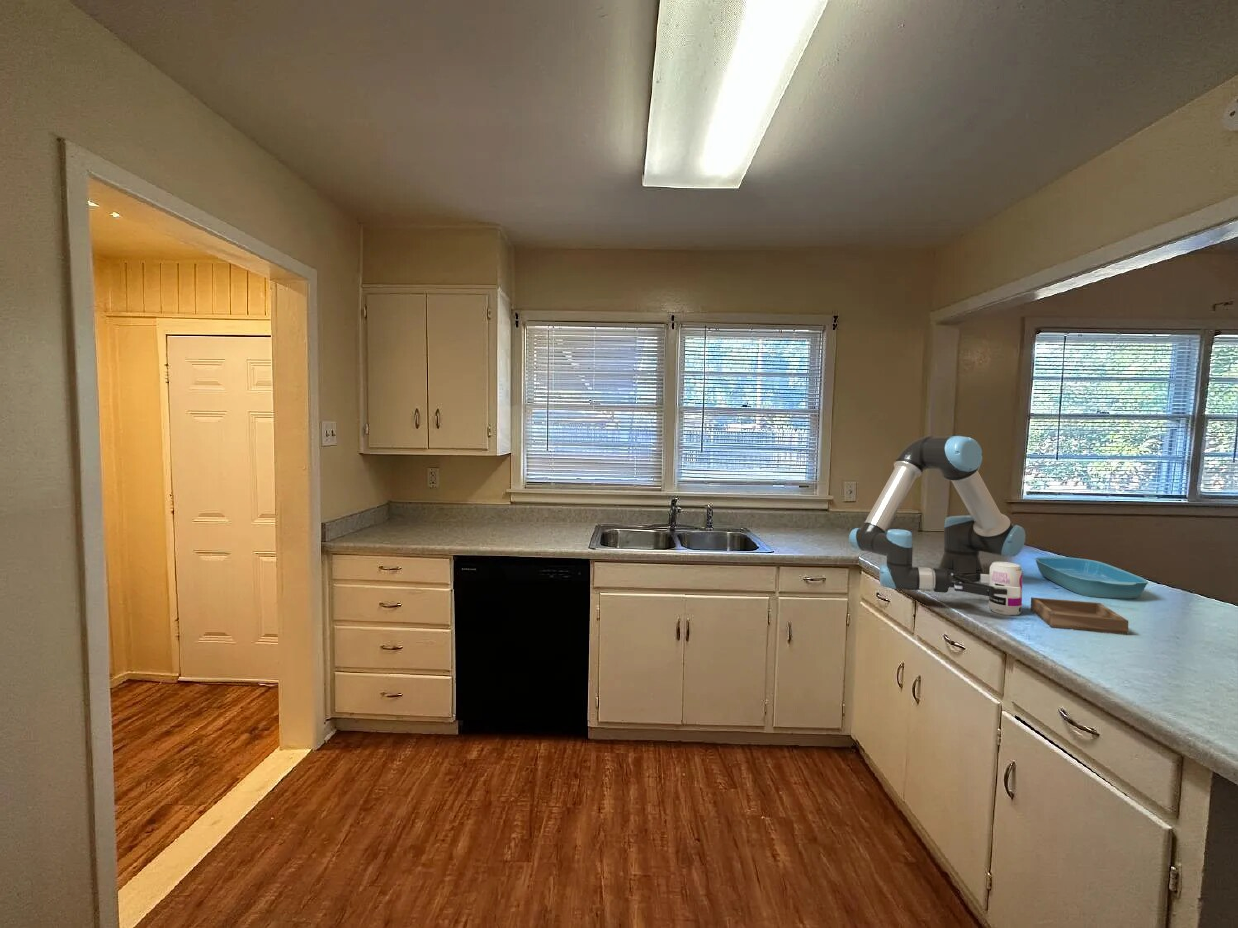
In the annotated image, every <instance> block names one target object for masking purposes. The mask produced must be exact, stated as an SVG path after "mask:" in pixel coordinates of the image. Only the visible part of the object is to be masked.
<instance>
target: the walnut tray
mask: <svg viewBox="0 0 1238 928" xmlns="http://www.w3.org/2000/svg"><path fill="white" fill-rule="evenodd" d="M1030 611H1031V612H1033V613H1034V614H1035V615H1036V616H1037V617H1038V618H1039V619H1041V621H1043V622H1044V623H1045V624H1046V625H1047V626H1049V627H1050V628H1051V629H1062V630H1070V629H1073V631H1082V632H1091V633H1092V632H1093V633H1101V634H1102V633H1103V634H1114V635H1124V636H1128V635H1129V620H1128V619H1126V618H1125V617H1123V616H1122V615H1120V614H1119V613H1117V612H1115V611H1114V610H1112V609H1110V608H1109V607H1107V606H1106V605H1104V604H1102V603H1101V602H1093V601H1092V602H1091V601H1082V600H1081V601H1080V600H1079V601H1078V600H1069V599H1068V600H1067V599H1054V598H1041V597H1030Z"/></svg>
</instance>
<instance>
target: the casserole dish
mask: <svg viewBox="0 0 1238 928" xmlns="http://www.w3.org/2000/svg"><path fill="white" fill-rule="evenodd" d="M1034 559H1035V562H1036V565H1037V568H1038V571H1039V572H1040V574H1041V575H1042V576H1043V577H1044V578H1045V579H1047V580H1049V581H1051V582H1052V583H1054V584H1056V585H1059V586H1060V587H1062V588H1064V589H1065V590H1068V591H1071V592H1072V591H1073V592H1072V593H1075V594H1078V595H1079V596H1083V597H1089V598H1090V597H1091V598H1100V599H1101V598H1102V599H1120V600H1122V599H1124V600H1125V599H1126V600H1128V599H1129V600H1132V599H1133V600H1134V599H1136V598H1139V597H1140V596H1141V595H1142V593H1143V591H1144V590H1145V588H1146V587H1147V585H1148V584H1149V581H1148V580H1147V579H1146V578H1144V577H1142V576H1139V575H1136V574H1133V573H1131V572H1129V571H1126V570H1123V569H1121V568H1118V567H1116V566H1113V565H1110V564H1108V563H1105V562H1101V561H1098V560H1093V559H1087V558H1079V557H1077V558H1076V557H1070V556H1057V555H1056V556H1055V555H1052V556H1049V555H1048V556H1039V557H1038V556H1037V557H1035V558H1034Z"/></svg>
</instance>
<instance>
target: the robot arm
mask: <svg viewBox="0 0 1238 928" xmlns="http://www.w3.org/2000/svg"><path fill="white" fill-rule="evenodd" d="M982 454H983V451H982V447H981V445H980V444H979V442H978V441H976V440H975V439H974V438H972V437H968V436H961V435H955V436H954V435H953V436H923V437H920V438H917V439H916V440H914V441H912V442H911V443H909V444H908V445H907V446H906V447H905V448H904V449H903V450H902V451H901V452H900V453H899V455H898V456H897V458H896V459H895V461H894V462H893V467H894V469H893V471H892V473H891V475H890V477H889V478H888V479H887V481H886V484H885V485H884V487H883V489H882V490H881V492H880V494H879V496H878V498H877V499H876V501H875V503H874V505H873V506H872V508H871V510H870V512H869V513H868V515H867V518H866V520H865V521H864V522H863V524H862V526H861V527H855V528H854V529H852V530H851V531H850V533H849V536H848V541H849V542H848V543H849V544H850V546H851V547H852V548H854V549H855V550H856V549H857V550H860V551H862V552H868V553H872V554H877V555H880V556H885V557H886V563H884V564H881V565H880V566H879V574H878V575H879V576H878V577H879V584H880V586H882V587H883V588H888V589H894V590H907V591H910V590H911V591H920V592H921V593H924V592H935V593H945V594H946V593H948V591H949V588H952V589H953V588H954V591H956V592H963V593H968V594H974V595H979V596H980V595H981V596H983V597H988V598H989V597H990V598H994V595H1001V596H1013V597H1020V588H1019V587H1008V586H994V585H993V586H989V573H988V574H986V573H985V569H984V567H983V564H982V560H981V557H980V552H982V553H988V554H993V555H997V556H1000V557H1009V558H1012V557H1016V556H1018V555H1019V554H1020V553H1021V552H1022V549H1023V548H1024V546H1025V542H1026V532H1025V531H1026V530H1025V529H1024V527H1023V526H1020V525H1018V524H1016V525H1015V524H1013V523H1012V522H1011V520H1010V518H1009V517H1008V516H1007V515H1006V514H1004V513H1001V511H1000V509H999V507H998V506H997V504H996V502H995V500H994V498H993V496H992V494H991V493H990V491H989V489H988V487H987V485H986V483H985V482H984V480H983V478H982V476H981V475H980V473H979V470H980V467H981V464H982V461H983V458H984V457H983V455H982ZM928 469H929V470H939V471H940V473H941V475H942V477H943V478H944V479H945V480H947V481H951V483H952V484H953V486H954V488H955V490H956V492H957V493H958V496H959V497H960V499H961V501H962V502H963V504H964V505H965V507H966V509H967V512H969V514H970V515H951V516H948V517H947V516H946V518H945V520H944V526H943V530H944V531H943V533H944V534H943V535H944V537H943V538H944V539H943V540H944V541H943V542H944V543H943V544H944V546H943V553H942V556H941V559H940V561H939V563H938V564H939V565H938V568H937V567H935V568H933V569H932V567H918V566H913V552H914V551H913V549H914V544H913V543H914V542H913V534H912V532H911V531H910V530H906V529H900V528H896V529H895V528H894V529H892V528H891V529H889V528H890V526H891V524H892V522H893V520H894V519H895V516H896V514H897V513H898V511H899V509H900V507H901V506H902V504H903V502H904V500H905V498H906V496H907V494H908V492H910V490H911V488H912V486H913V483H915V480H916V479H917V478H920V477H921V475H922V474H923V472H925V471H926V470H928ZM978 582H979V583H978ZM987 584H988V585H987Z"/></svg>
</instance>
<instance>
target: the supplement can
mask: <svg viewBox="0 0 1238 928" xmlns="http://www.w3.org/2000/svg"><path fill="white" fill-rule="evenodd" d="M1023 572H1024V571H1023V570H1022V567H1021V565H1020V564H1018V563H1014V562H1008V561H993V562H992V563H991V565H990V566H989V573H988V575H989V583H988V586H993V585H994V586H1008V587H1019V588H1020V597H1013V596H1001V595H994V598H990V597H989V596H988V609H990V611H991V610H992V612H993V613H996V614H998V615H1003V616H1010V615H1015V616H1018V615H1020V614H1021V613H1022V612H1023V611H1022V606H1023V603H1022V601H1023V575H1024V574H1023Z"/></svg>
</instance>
